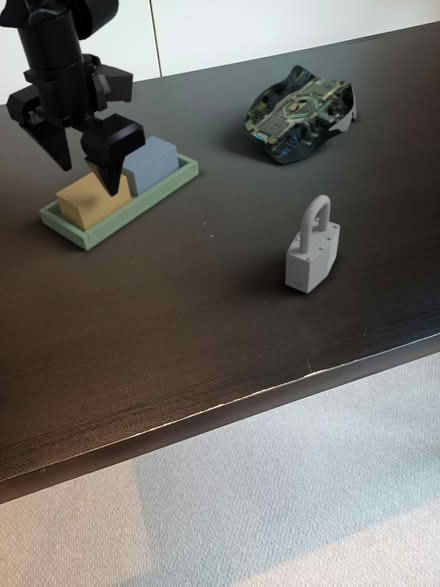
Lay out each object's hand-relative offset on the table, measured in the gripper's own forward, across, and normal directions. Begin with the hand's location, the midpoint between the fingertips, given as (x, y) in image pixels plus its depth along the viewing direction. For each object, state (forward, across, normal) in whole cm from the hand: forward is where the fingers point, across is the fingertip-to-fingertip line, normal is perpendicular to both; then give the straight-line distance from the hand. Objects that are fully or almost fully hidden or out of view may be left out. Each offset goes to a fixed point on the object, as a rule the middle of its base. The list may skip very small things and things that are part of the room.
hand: (90, 182), depth 67 cm
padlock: (+5, -29, -8) cm, 30 cm away
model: (+5, -11, -33) cm, 35 cm away
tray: (+5, 0, -4) cm, 7 cm away
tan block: (+4, 0, 0) cm, 4 cm away
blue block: (+4, 0, -9) cm, 10 cm away
